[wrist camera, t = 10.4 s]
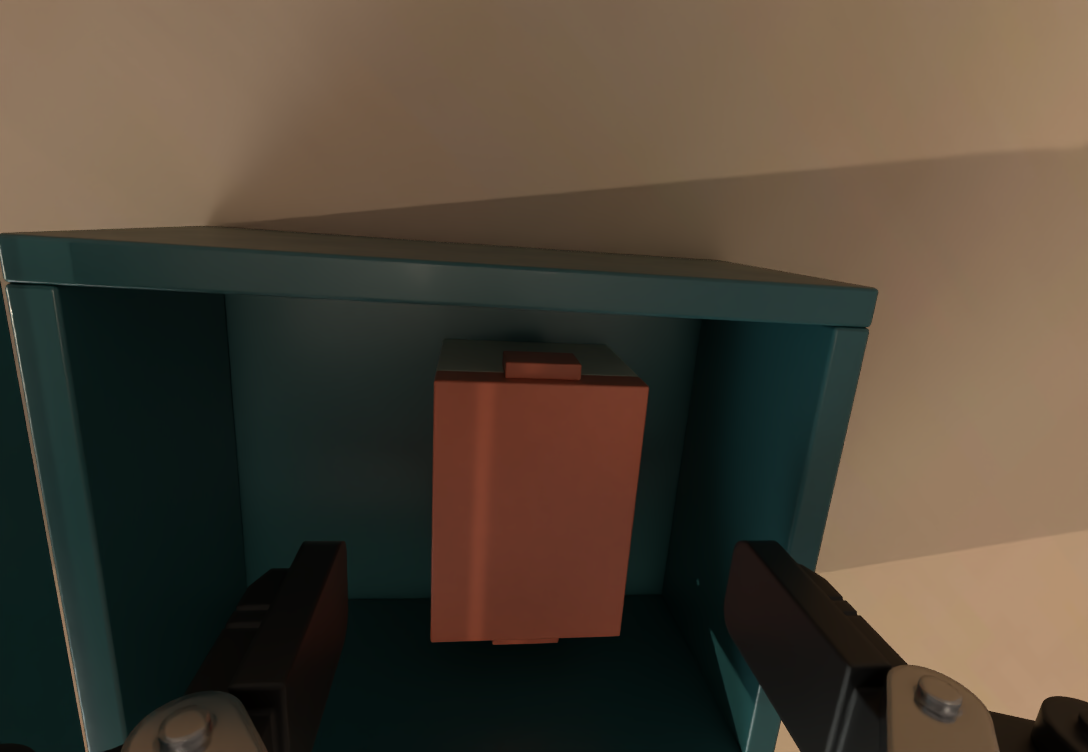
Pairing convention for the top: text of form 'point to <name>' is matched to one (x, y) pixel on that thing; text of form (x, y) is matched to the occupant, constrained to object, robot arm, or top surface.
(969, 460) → the top surface
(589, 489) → the snack box
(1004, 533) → the top surface
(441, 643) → the lunch tin
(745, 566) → the robot arm
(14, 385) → the tin lid
